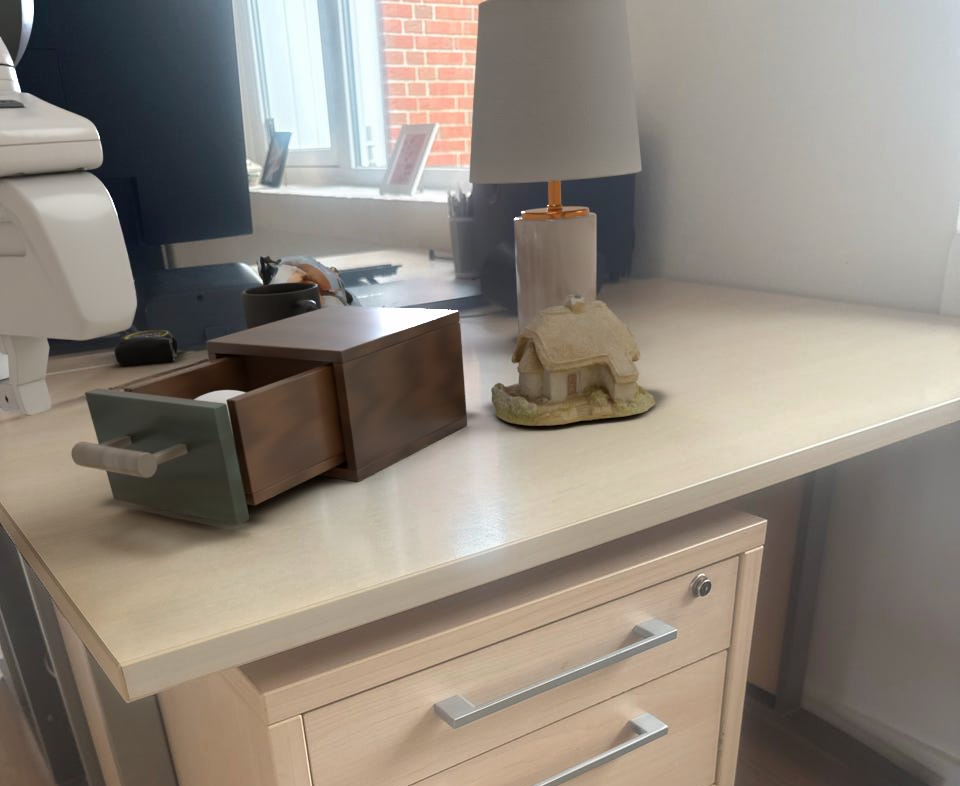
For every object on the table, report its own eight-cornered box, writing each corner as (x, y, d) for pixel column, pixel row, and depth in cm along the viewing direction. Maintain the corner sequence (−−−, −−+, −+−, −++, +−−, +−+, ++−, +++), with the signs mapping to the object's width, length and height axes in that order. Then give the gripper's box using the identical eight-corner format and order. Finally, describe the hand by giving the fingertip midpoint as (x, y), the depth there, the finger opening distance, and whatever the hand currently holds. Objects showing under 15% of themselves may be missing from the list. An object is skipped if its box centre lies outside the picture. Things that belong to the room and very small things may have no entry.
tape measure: (117, 375, 109) (109, 343, 107) (129, 362, 115) (122, 332, 113) (175, 369, 109) (168, 337, 107) (184, 357, 115) (177, 327, 113)
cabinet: (358, 481, 70) (340, 351, 65) (229, 461, 76) (204, 341, 71) (467, 425, 81) (459, 310, 76) (347, 411, 88) (332, 305, 83)
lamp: (639, 324, 115) (647, 0, 99) (635, 358, 99) (643, -23, 82) (493, 329, 119) (476, 16, 102) (466, 363, 103) (441, -2, 86)
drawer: (188, 549, 57) (159, 427, 54) (63, 520, 64) (29, 408, 60) (370, 459, 71) (357, 356, 67) (253, 442, 77) (234, 347, 73)
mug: (284, 398, 94) (268, 301, 89) (246, 378, 103) (230, 289, 98) (357, 384, 97) (345, 290, 92) (313, 366, 106) (301, 279, 102)
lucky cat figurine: (400, 338, 116) (378, 242, 105) (335, 395, 112) (305, 301, 100) (318, 297, 122) (289, 202, 111) (254, 349, 118) (217, 256, 106)
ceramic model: (604, 386, 90) (604, 278, 85) (674, 410, 81) (679, 291, 76) (478, 411, 85) (470, 299, 80) (538, 440, 76) (534, 315, 71)
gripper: (-226, 154, 49) (-124, 410, 55) (1, 129, 39) (91, 444, 46) (-110, 148, 53) (-29, 385, 60) (120, 124, 43) (186, 410, 50)
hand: (25, 410), depth 53 cm, fingers closed
